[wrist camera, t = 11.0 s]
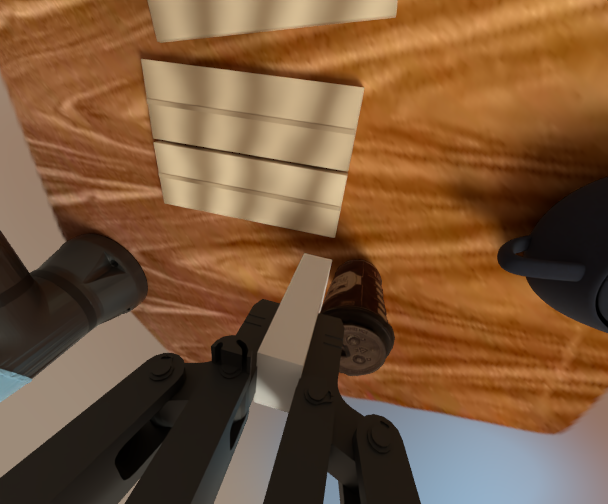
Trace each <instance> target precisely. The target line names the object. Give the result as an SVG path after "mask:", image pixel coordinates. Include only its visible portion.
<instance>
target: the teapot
mask: <svg viewBox="0 0 608 504" xmlns="http://www.w3.org/2000/svg"><path fill="white" fill-rule="evenodd" d="M523 251H524V256H523V257H521V256H518V255H516V254H515V253H519V252H523ZM497 259H498V263H499V264H500V266H501V267H502V268H503V269H504V270H506V271H508V272H510V273H513V274H517V275H521V276H526V279H527V281H528V283H529V285H530V286H531V288H532V289H533V291H534V292H535V293H536V294H537V295H538V296H539V297H540V298H541V299H542V300H543V301H544V302H546V303H547V304H548V305H550V306H551V307H552V308H554V309H555V310H557V311H559V312H560V313H562V314H564V315H566V316H568V317H570V318H572V319H574V320H576V321H578V322H580V323H583V324H585V325H588V326H590V327H593V328H595V329H598V330H600V331H603V332H606V333H608V177H605V178H603V179H600V180H597V181H595V182H592V183H590V184H588V185H586V186H584V187H582V188H580V189H578V190H576V191H574V192H573V193H571V194H570V195H568V196H566V197H565V198H564V199H562V200H561V201H559V202H558V203H557V204H556V205H554V206H553V207H552V208H551V209H550V210H549V211H548V212H547V213H546V214H545V215H544V216H543V217H542V218H541V219H540V221H539V222H538V223H537V225H536V226H535V227H534V229H533V231H532V232H531V234H530V235H528V236H523V237H519V238H515V239H512V240H510V241H508V242H506V243H505V244H504V245H502V247H501V248H500V249H499V251H498V255H497Z"/></svg>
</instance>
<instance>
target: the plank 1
mask: <svg viewBox="0 0 608 504" xmlns="http://www.w3.org/2000/svg"><path fill="white" fill-rule="evenodd" d="M148 5H149V9H150V13H151V17H152V21H153V26H154V30H155V34H156V38H157V42H161V43H162V42H172V41H181V40H190V39H199V38H209V37H218V36H227V35H237V34H246V33H255V32H265V31H274V30H283V29H293V28H302V27H311V26H321V25H330V24H339V23H349V22H358V21H367V20H377V19H386V18H395V17H396V11H397V0H148Z"/></svg>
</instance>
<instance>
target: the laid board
mask: <svg viewBox="0 0 608 504" xmlns="http://www.w3.org/2000/svg"><path fill="white" fill-rule="evenodd" d="M141 62H142V69H143V75H144V82H145V88H146V95H147V104H148V108H149V115H150V121H151V128H152V134H153V138H154V139H160V140H166V141H171V142H177V143H183V144H189V145H195V146H201V147H207V148H212V149H218V150H224V151H230V152H236V153H242V154H248V155H253V156H259V157H265V158H271V159H277V160H283V161H289V162H295V163H300V164H306V165H312V166H318V167H324V168H330V169H336V170H341V171H347V172H348V169H349V164H350V159H351V154H352V149H353V144H354V139H355V134H356V129H357V124H358V118H359V113H360V108H361V103H362V98H363V93H364V87H356V86H348V85H340V84H333V83H325V82H317V81H309V80H301V79H294V78H286V77H278V76H270V75H263V74H255V73H247V72H239V71H232V70H224V69H216V68H208V67H201V66H193V65H185V64H177V63H169V62H162V61H154V60H146V59H141Z"/></svg>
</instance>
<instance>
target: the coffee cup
mask: <svg viewBox="0 0 608 504" xmlns="http://www.w3.org/2000/svg"><path fill="white" fill-rule="evenodd" d="M381 285H382V280H381V276H380V274H379V272H378V271H377V269H376V268H375V267H374V266H373V265H371V264H370V263H368V262H366V261H364V260H351V261H348V262H345V263H344V264H343V265H341V266H340V267H339V268H338V270H337V272H336V273H335V278H334V280H333V281H332V283H331V285H330V287H329V290H328V293H327V295H326V298H325V300H324V303H323V305H322V307H321V311H320V313H321V314H324V315H328V316H332V317H336V318H339V319H341V320H342V323H343V326H344V328H345V330H344V337H343V345H342V352H341V359H340V367H339V372H340V373H344V374H346V375H348V376H360V375H366V374H370V373H373V372H375V371H377V370H378V369H379V368H380V367H381V366H382V365H383V364H384V362H385V359H386V358H387V356H388V355H389V353H390V351H391V350H392V348H393V345H394V340H395V337H394V332H393V329H392V327H391V325H390V324H389V323H388V320H387V317H386V309H385V305H384V300H383V289H382V286H381Z"/></svg>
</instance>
